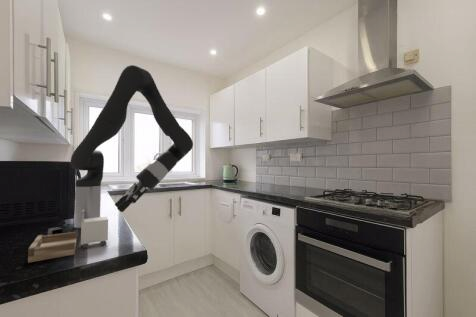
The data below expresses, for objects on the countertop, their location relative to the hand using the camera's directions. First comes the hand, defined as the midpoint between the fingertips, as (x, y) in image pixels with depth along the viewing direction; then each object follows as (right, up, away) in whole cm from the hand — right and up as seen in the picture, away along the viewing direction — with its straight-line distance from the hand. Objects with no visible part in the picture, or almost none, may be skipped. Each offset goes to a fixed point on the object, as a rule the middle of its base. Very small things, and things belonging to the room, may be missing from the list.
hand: (117, 208), depth 77 cm
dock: (-14, -11, -9) cm, 20 cm away
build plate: (-22, -12, +1) cm, 25 cm away
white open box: (-5, -11, -4) cm, 13 cm away
